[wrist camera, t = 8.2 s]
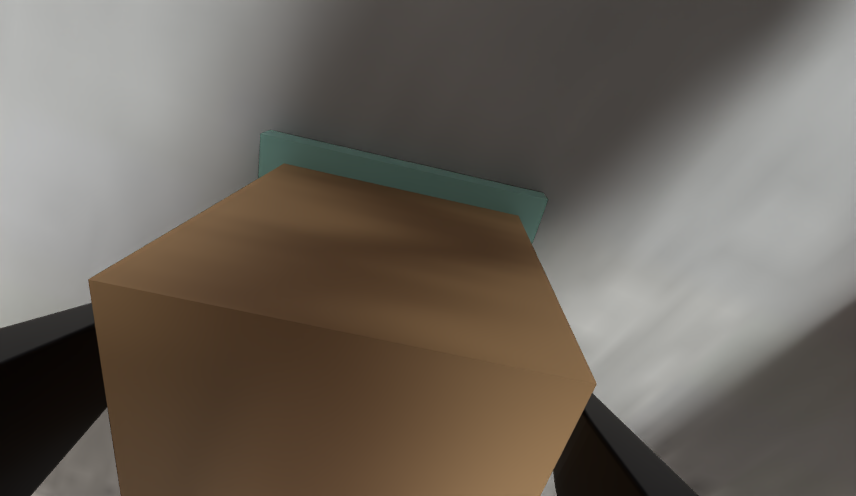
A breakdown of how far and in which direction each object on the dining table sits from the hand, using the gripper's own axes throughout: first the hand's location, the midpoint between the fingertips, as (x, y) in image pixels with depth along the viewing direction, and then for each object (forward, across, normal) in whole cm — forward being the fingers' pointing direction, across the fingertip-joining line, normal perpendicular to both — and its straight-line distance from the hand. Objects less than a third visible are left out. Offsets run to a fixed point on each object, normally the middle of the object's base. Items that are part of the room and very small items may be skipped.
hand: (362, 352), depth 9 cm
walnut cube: (+3, 0, 0) cm, 3 cm away
